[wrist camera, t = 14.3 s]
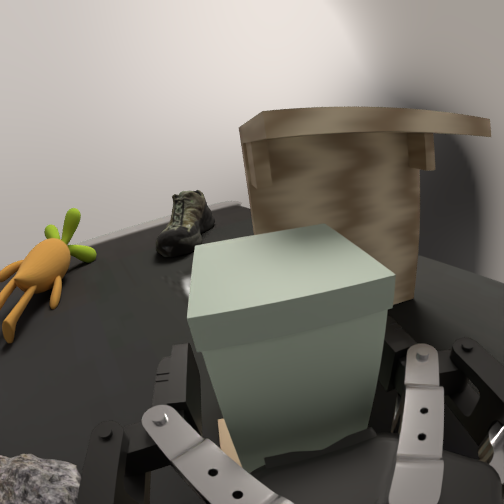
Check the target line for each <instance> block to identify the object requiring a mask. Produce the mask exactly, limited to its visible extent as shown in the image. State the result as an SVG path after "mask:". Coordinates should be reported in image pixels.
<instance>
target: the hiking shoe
mask: <svg viewBox="0 0 504 504" xmlns="http://www.w3.org/2000/svg"><path fill="white" fill-rule="evenodd" d="M172 198H173V209H172V215H171V220H170V222H169V224H168V225H167V226H166V228H165V230H164V231H163V232H161V233H160V235H159V236H158V238H157V241H156V251H157V252H158V253H160V254H161V255H163V256H164V257H176V256H180V255H185V254H188V253H191V252H192V251H194V250H195V246H197V245H201V244H202V237H201V233H203V232H206V231H208V230H209V229H210V228H212V227H213V225H214V223H215V218H214V217H213V216H212V212H211V210H210V209H209V208H208V206H207V203H206V200H205V198H204V195H203V193H202V192H201V191H199V190H197V191H182V192H181V193H180V194H179V195H176V194H174V195H173V196H172Z"/></svg>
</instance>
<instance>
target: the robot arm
mask: <svg viewBox="0 0 504 504" xmlns="http://www.w3.org/2000/svg"><path fill="white" fill-rule="evenodd" d="M469 379H470V380H471V381H472V383H473V384H474V385H475V386H476V387H477V388H478V390H479V392H480V396H479V395H478V393H477V392H476V391H475V390H474V389H473V388H472V387H471V386H470V385H469V384H468V381H469ZM378 380H379V381H380V383H381V384H382V386H383V387H384V389H385V390H386V391H387V392H388V391H390V390H393V389H396V390H397V391H398V392H397V396H396V402H395V409H394V415H393V421H392V427H391V431H390V433H387V432H382V433H375V431H374V430H373V428H372V427H370V428H367V429H364V430H362V431H359V432H356V433H353V434H350V435H348V436H346V437H344V438H342V439H341V440H339V441H337V442H335V443H334V444H332V445H330V446H328V447H327V448H325V449H322V450H313V451H294V452H288V453H284V454H279V455H274V456H270V457H265V458H264V461H265V465H263V466H261V467H259V468H257V469H255V470H253V471H252V472H251V473H248V472H247V471H245V470H244V469H243V468H242V467H241V466H239V465H238V464H237V463H236V462H235V461H233V460H232V459H231V458H230V457H229V456H228V455H226V454H225V453H224V452H223V451H222V450H221V449H220V448H219V447H217V446H216V445H215V444H214V443H213V442H212V441H211V440H209V439H208V438H205V439H204V438H202V421H201V388H200V375H199V370H198V367H197V364H196V361H195V358H194V355H193V351H192V348H191V345H190V343H184V344H177V345H173V346H172V353H171V357H164V358H163V359H162V360H161V362H160V363H159V365H158V367H157V376H156V380H155V381H156V383H155V387H154V393H153V400H152V407H151V408H150V409H148V410H147V411H146V412H145V413H144V415H143V417H142V420H141V421H139V422H137V423H134V424H131V425H128V426H124V427H122V426H121V425H120V424H119V423H117V422H115V421H104V422H101V423H100V424H98V425H97V426H96V427H95V428H94V429H93V431H92V433H91V436H90V440H89V444H88V449H87V453H86V457H85V462H84V466H83V471H82V476H81V481H80V486H79V491H78V496H77V502H76V504H150V477H151V471H153V470H156V469H159V468H162V467H165V466H168V465H171V466H172V467H173V469H174V470H175V471H176V472H177V473H178V474H179V476H180V477H181V478H182V479H183V480H184V481H185V482H186V483H187V484H188V486H189V487H190V488H191V489H192V490H193V491H194V492H195V493H196V494H197V495H198V496H199V497H200V499H201V500H202V501H203V502H204V503H205V504H503V499H502V485H503V484H504V366H503V365H502V364H500V363H499V362H498V361H497V360H496V359H495V358H494V357H493V356H492V355H491V354H490V353H489V352H488V351H486V350H485V349H484V348H483V347H482V346H481V345H480V344H479V343H478V342H476V341H475V340H473V339H471V338H465V337H464V338H459V339H457V340H456V341H455V342H454V343H453V346H452V349H448V350H442V351H436V349H435V348H434V347H432V346H430V345H428V344H418V343H417V342H416V341H415V340H414V339H413V338H412V337H411V336H410V335H409V334H408V333H407V332H406V331H405V330H404V329H403V328H401V326H400V325H399V324H398V323H397V322H396V321H395V320H394V319H393V318H392V317H391V316H390V315H388V314H387V320H386V329H385V337H384V344H383V351H382V357H381V363H380V369H379V375H378ZM444 402H445V403H446V404H447V406H448V407H449V408H450V409H451V411H452V412H453V413H454V415H455V416H456V417H457V418H458V420H459V421H460V422H461V424H462V425H463V426H464V427H465V429H466V430H467V431H468V433H469V434H470V435H471V437H472V438H473V439H474V441H475V442H476V443H477V445H478V446H479V448H478V455H479V460H476V459H473V458H469V457H466V456H462V455H459V454H456V453H452V452H449V451H446V450H443V449H442V448H443V429H444Z"/></svg>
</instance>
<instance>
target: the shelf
mask: <svg viewBox="0 0 504 504" xmlns="http://www.w3.org/2000/svg"><path fill="white" fill-rule="evenodd" d="M239 132H240V139H241V146H242V152H243V159H244V167H245V173H246V181H247V187H248V194H249V201H250V209H251V216H252V223H253V230H254V235H259V234H264V233H270V232H276V231H282V230H288V229H294V228H300V227H306V226H312V225H318V224H324V223H325V224H326V225H328V226H329V227H331V228H332V229H334V230H335V231H336V232H338V233H339V234H341V235H342V236H344V237H345V238H346V239H348V240H349V241H351V242H352V243H353V244H355V245H356V246H358V247H359V248H360V249H362V250H363V251H365V252H366V253H367V254H369V255H370V256H371V257H373V258H374V259H375V260H377V261H378V262H379V263H381V264H382V265H384V266H385V267H386V268H388V269H389V270H390V271H392V272H393V273H394V274H395V275H396V278H395V290H394V301H393V305H394V304H398V303H401V302H404V301H407V300H410V299H413V298H414V290H415V281H416V271H417V259H418V245H419V223H420V177H419V176H420V175H419V169H422V170H435V156H434V141H433V133H441V134H460V135H474V136H486V137H491V127H490V119H487V118H481V117H475V116H469V115H463V114H455V113H447V112H439V111H430V110H418V109H407V108H388V107H387V108H386V107H314V108H296V109H281V110H270V111H262V112H261V113H259V114H258V115H256V116H255V117H253V118H252V119H250V120H249V121H248V122H246V123H245V124H243V125H242V126H240V127H239Z"/></svg>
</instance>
